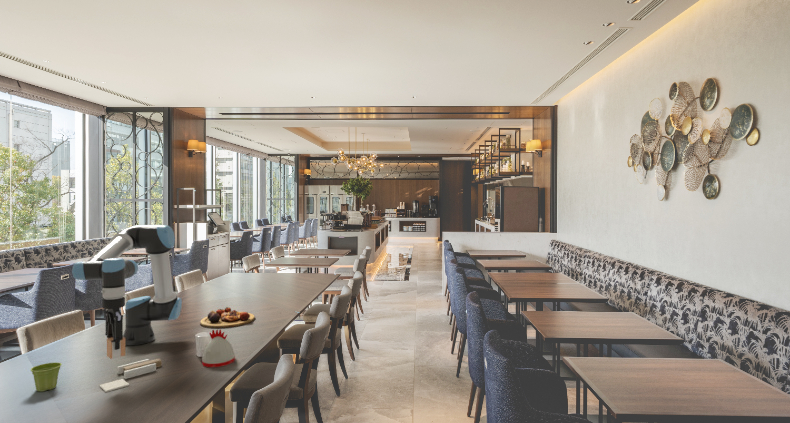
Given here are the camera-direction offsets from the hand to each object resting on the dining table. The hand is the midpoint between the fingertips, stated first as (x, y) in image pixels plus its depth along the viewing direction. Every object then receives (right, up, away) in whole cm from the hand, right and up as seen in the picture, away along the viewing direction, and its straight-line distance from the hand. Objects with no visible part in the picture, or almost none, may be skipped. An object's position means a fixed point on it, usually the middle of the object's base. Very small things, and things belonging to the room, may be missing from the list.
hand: (114, 355), depth 167 cm
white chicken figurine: (+30, -12, +27) cm, 42 cm away
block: (0, 0, +1) cm, 1 cm away
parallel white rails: (0, -12, +14) cm, 19 cm away
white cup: (+20, -12, +36) cm, 43 cm away
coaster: (0, -12, 0) cm, 12 cm away
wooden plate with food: (+7, -12, +96) cm, 97 cm away
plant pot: (-25, -13, -2) cm, 28 cm away
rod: (+1, -12, +17) cm, 21 cm away
